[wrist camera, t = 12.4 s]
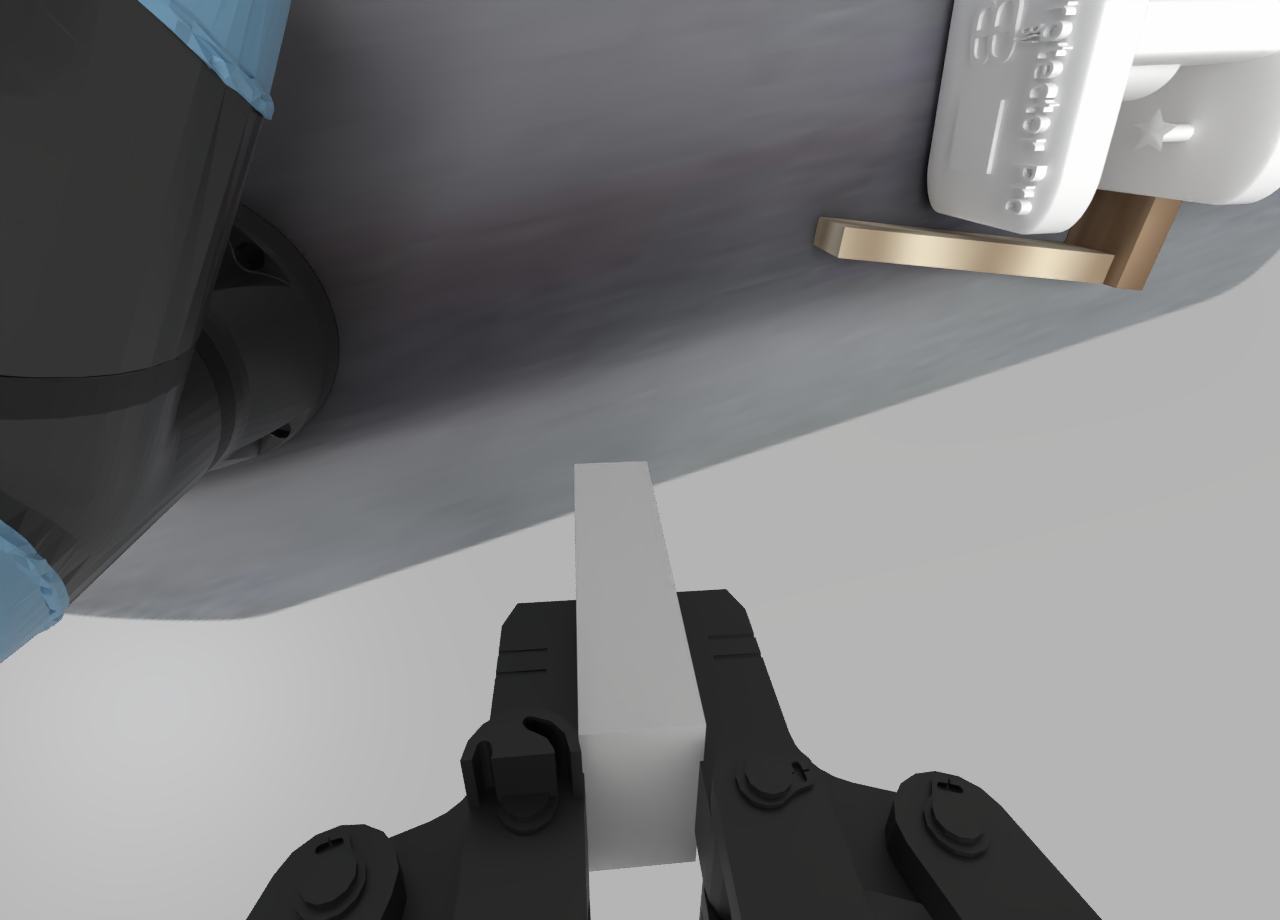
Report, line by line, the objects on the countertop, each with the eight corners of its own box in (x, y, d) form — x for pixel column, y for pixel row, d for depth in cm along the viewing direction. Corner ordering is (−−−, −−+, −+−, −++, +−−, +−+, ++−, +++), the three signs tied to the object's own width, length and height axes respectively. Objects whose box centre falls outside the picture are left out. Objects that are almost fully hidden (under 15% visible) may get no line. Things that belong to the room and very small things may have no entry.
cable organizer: (1086, 199, 37) (1281, 230, 27) (905, 207, 36) (1033, 242, 26) (1180, -149, 30) (1494, -290, 20) (958, -146, 29) (1162, -290, 19)
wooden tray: (813, 244, 37) (844, 261, 32) (941, -344, 26) (1015, -438, 22) (1077, 271, 39) (1141, 290, 34) (1295, -266, 28) (1428, -338, 24)
